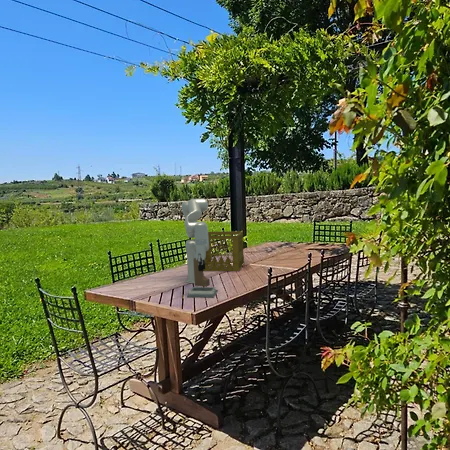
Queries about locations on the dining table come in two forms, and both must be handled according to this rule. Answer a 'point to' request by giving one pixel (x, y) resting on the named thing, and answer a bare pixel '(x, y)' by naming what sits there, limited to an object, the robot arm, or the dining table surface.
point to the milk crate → (236, 249)
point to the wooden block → (200, 276)
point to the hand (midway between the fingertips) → (201, 269)
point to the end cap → (202, 292)
